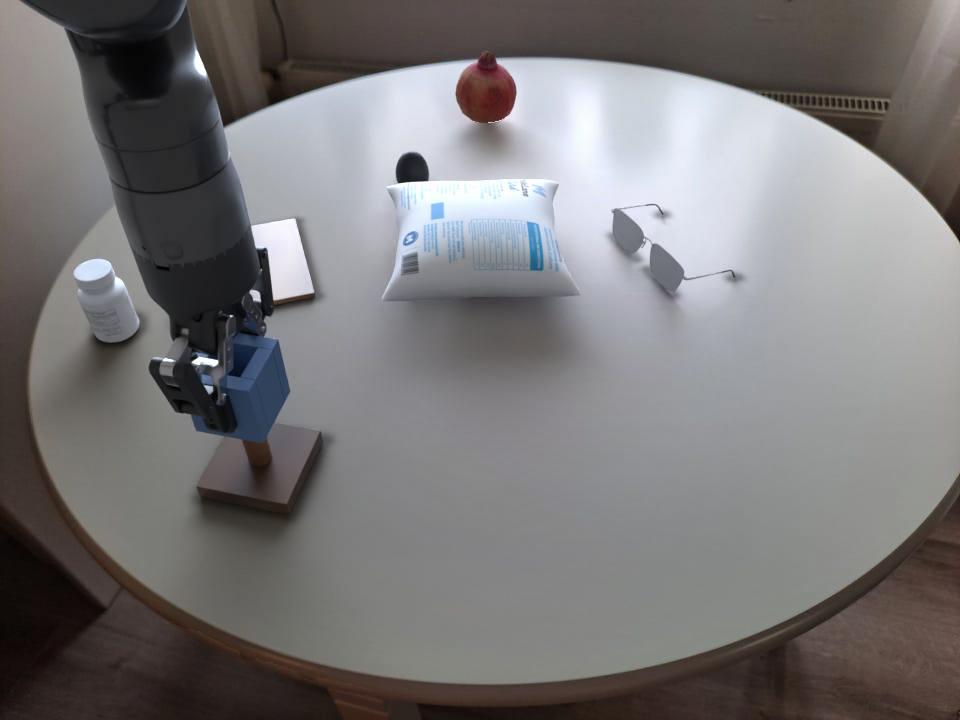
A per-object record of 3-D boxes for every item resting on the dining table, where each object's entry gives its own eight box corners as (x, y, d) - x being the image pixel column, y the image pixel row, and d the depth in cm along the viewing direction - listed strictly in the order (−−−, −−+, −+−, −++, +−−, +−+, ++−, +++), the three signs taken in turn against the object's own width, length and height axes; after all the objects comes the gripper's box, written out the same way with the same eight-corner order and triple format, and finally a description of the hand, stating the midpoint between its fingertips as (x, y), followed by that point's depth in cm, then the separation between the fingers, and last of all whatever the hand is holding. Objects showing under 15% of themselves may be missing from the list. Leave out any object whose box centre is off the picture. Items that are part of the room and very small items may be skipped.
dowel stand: (200, 497, 68) (171, 429, 61) (239, 425, 73) (217, 356, 67) (289, 514, 67) (270, 447, 60) (323, 440, 72) (308, 371, 66)
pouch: (376, 267, 77) (584, 255, 77) (382, 163, 91) (559, 153, 91) (385, 329, 82) (580, 317, 83) (390, 222, 96) (557, 213, 96)
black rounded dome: (391, 182, 101) (388, 147, 97) (421, 174, 102) (419, 139, 98) (404, 199, 98) (401, 163, 95) (434, 191, 99) (433, 155, 96)
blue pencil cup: (196, 431, 63) (176, 378, 59) (227, 380, 67) (210, 327, 62) (263, 443, 62) (248, 391, 58) (290, 391, 66) (278, 338, 62)
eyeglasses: (605, 230, 94) (612, 201, 91) (660, 217, 97) (668, 188, 94) (678, 301, 85) (688, 271, 83) (736, 284, 88) (747, 254, 86)
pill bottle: (116, 309, 84) (91, 250, 78) (149, 322, 83) (126, 263, 77) (85, 335, 81) (57, 276, 76) (118, 349, 80) (92, 290, 74)
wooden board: (179, 323, 83) (177, 319, 82) (172, 243, 92) (171, 239, 91) (315, 297, 86) (314, 292, 85) (295, 221, 95) (295, 217, 94)
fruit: (499, 102, 115) (500, 33, 108) (525, 129, 110) (528, 58, 103) (447, 114, 113) (445, 44, 105) (471, 142, 108) (471, 71, 100)
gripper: (186, 156, 57) (235, 330, 69) (71, 285, 47) (151, 461, 59) (286, 170, 56) (318, 344, 68) (190, 305, 46) (247, 480, 58)
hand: (240, 398), depth 63 cm, fingers closed on blue pencil cup, 5 cm apart
